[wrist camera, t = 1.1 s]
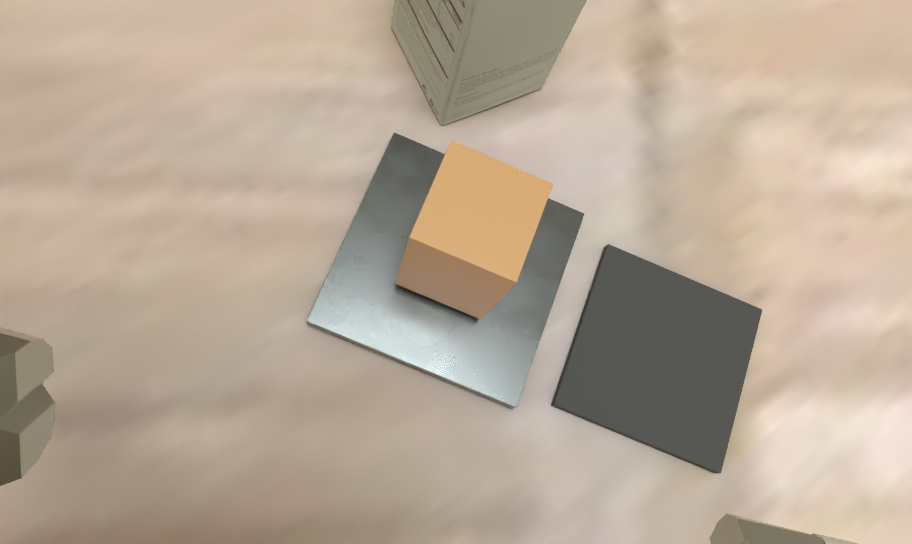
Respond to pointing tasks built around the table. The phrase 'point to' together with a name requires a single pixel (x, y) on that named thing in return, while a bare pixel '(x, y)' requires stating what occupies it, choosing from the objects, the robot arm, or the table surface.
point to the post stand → (423, 319)
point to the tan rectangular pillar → (473, 231)
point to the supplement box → (481, 48)
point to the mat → (659, 359)
